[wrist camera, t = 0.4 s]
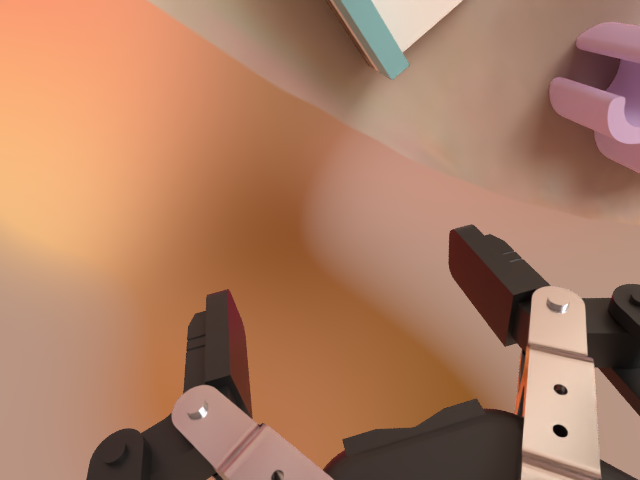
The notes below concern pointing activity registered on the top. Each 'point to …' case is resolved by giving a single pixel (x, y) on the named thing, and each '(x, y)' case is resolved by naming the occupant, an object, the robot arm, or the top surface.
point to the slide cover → (390, 27)
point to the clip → (607, 94)
